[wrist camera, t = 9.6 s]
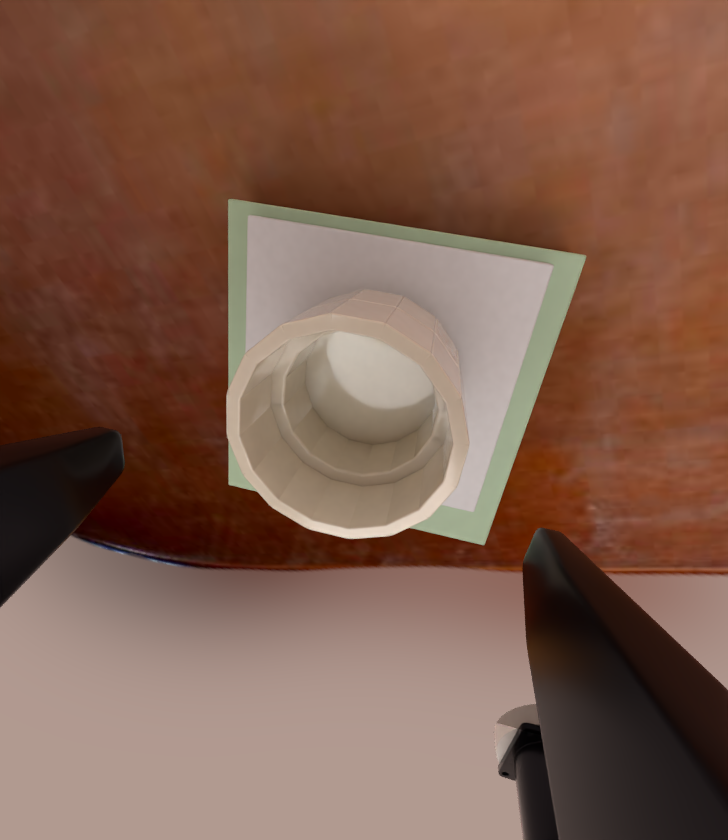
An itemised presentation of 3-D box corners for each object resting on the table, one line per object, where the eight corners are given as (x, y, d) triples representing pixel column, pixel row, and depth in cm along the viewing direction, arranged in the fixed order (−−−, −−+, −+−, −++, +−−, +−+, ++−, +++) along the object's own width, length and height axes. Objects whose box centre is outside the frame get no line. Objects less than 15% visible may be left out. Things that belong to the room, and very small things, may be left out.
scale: (481, 518, 20) (485, 556, 18) (246, 463, 21) (221, 492, 19) (570, 252, 15) (593, 255, 12) (252, 202, 16) (218, 196, 14)
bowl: (439, 470, 16) (436, 561, 12) (284, 436, 17) (226, 509, 12) (482, 306, 13) (499, 344, 9) (295, 274, 14) (225, 293, 10)
